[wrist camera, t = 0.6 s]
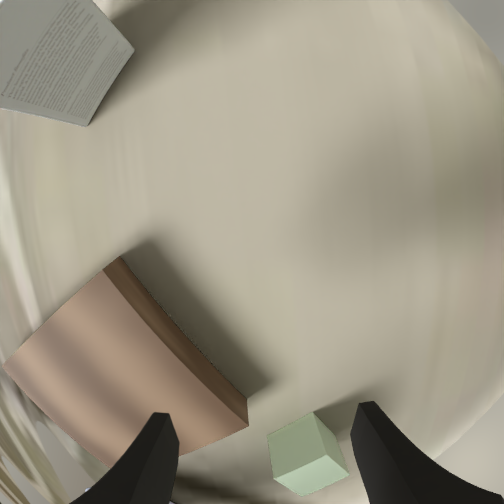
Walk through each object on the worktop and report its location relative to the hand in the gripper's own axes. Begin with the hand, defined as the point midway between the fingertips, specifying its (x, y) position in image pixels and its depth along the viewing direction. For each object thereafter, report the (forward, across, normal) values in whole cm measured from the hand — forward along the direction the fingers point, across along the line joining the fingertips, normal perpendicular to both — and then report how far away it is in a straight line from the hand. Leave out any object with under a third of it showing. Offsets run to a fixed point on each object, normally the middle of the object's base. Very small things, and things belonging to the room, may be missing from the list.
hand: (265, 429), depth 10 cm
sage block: (+9, -4, +14) cm, 17 cm away
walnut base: (+9, +11, +6) cm, 15 cm away
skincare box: (+11, +10, -16) cm, 22 cm away
